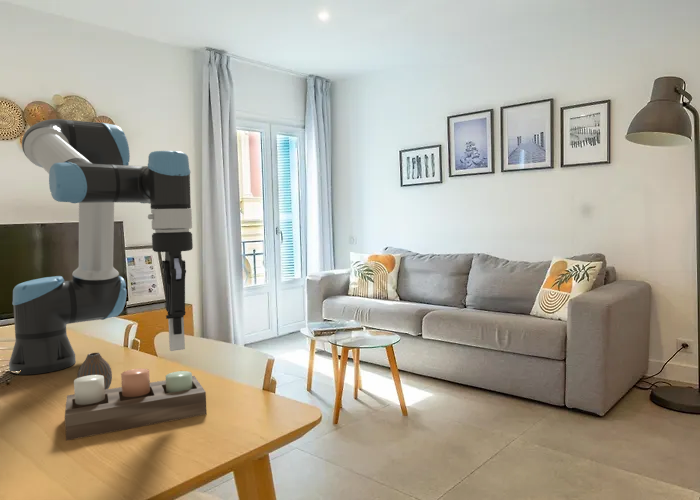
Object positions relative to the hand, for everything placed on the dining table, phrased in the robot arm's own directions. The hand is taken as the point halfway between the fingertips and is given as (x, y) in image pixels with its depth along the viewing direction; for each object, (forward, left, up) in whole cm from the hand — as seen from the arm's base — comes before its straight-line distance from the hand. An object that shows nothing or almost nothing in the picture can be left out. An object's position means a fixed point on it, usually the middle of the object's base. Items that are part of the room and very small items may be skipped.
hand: (177, 349), depth 104 cm
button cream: (0, -16, -7) cm, 18 cm away
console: (0, -8, -12) cm, 14 cm away
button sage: (0, 0, -9) cm, 9 cm away
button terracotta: (0, -8, -7) cm, 11 cm away
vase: (-20, -15, -12) cm, 28 cm away
